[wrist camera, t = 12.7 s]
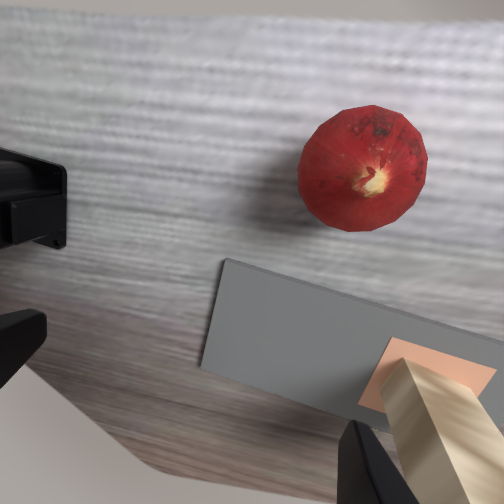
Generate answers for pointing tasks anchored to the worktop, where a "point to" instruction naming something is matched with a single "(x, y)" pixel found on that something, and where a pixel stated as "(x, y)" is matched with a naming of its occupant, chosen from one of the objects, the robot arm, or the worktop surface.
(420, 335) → the mat
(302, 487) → the worktop surface
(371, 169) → the onion
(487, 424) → the cream block
